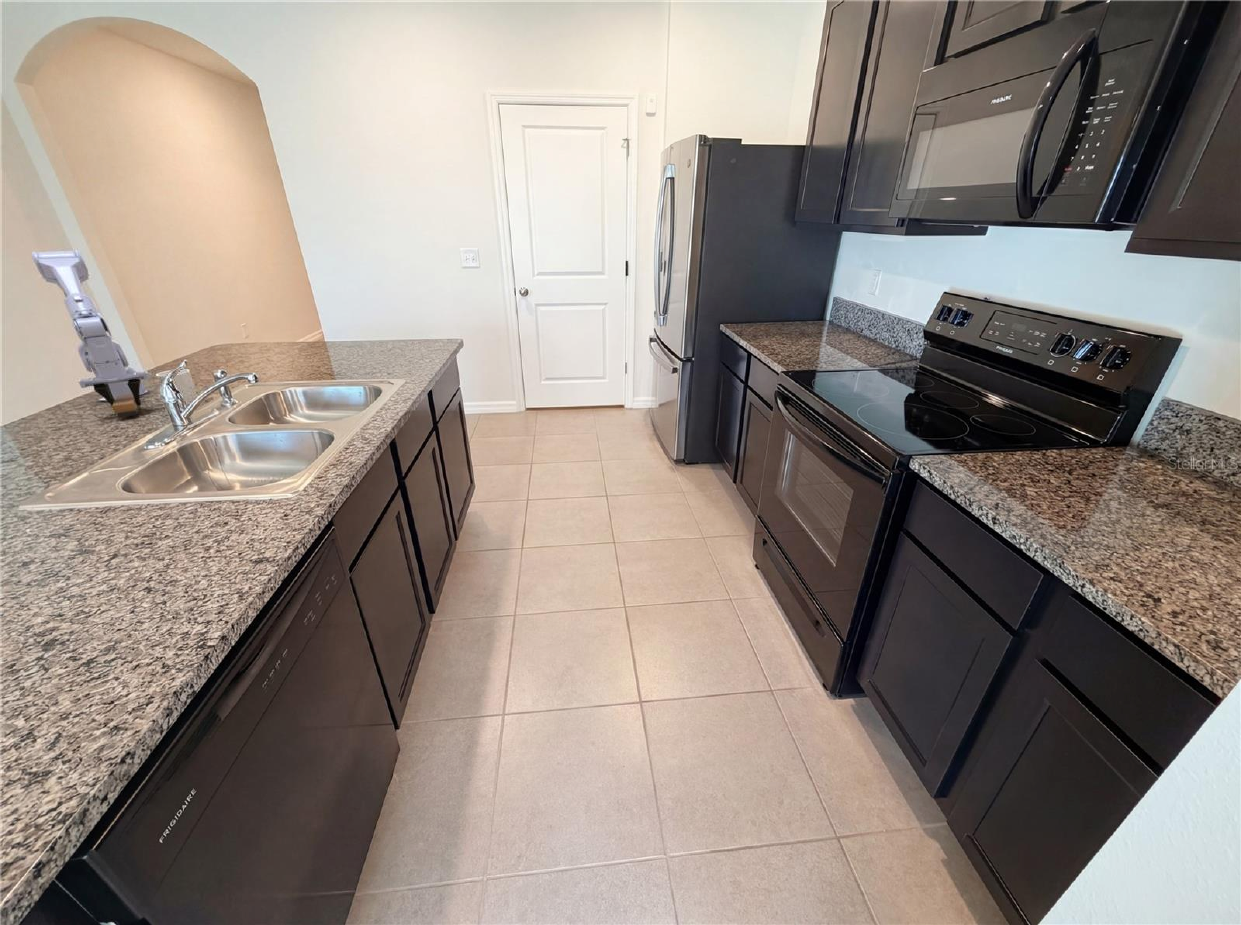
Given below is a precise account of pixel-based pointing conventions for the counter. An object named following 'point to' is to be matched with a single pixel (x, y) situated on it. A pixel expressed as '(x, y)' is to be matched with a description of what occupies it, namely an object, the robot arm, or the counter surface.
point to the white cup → (181, 383)
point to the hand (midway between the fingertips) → (127, 406)
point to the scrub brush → (125, 406)
